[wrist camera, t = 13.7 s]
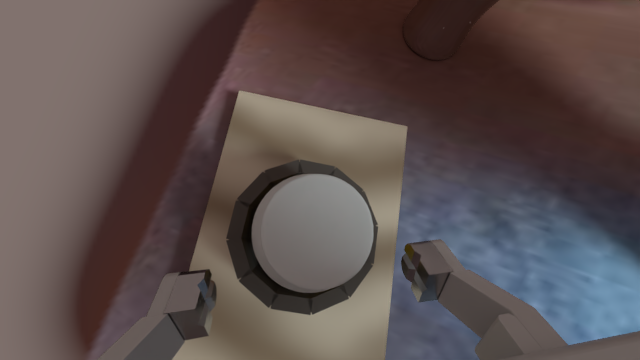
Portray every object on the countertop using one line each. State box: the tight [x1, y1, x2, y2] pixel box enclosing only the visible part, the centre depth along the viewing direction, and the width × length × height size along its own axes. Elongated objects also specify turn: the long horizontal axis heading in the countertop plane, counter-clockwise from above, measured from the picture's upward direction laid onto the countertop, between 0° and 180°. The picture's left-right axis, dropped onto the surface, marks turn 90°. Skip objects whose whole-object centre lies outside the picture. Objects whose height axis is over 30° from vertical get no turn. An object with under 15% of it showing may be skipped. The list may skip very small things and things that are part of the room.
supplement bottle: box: [252, 174, 374, 293], centre depth 13 cm, size 5×5×10 cm
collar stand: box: [172, 90, 407, 360], centre depth 17 cm, size 20×14×5 cm
